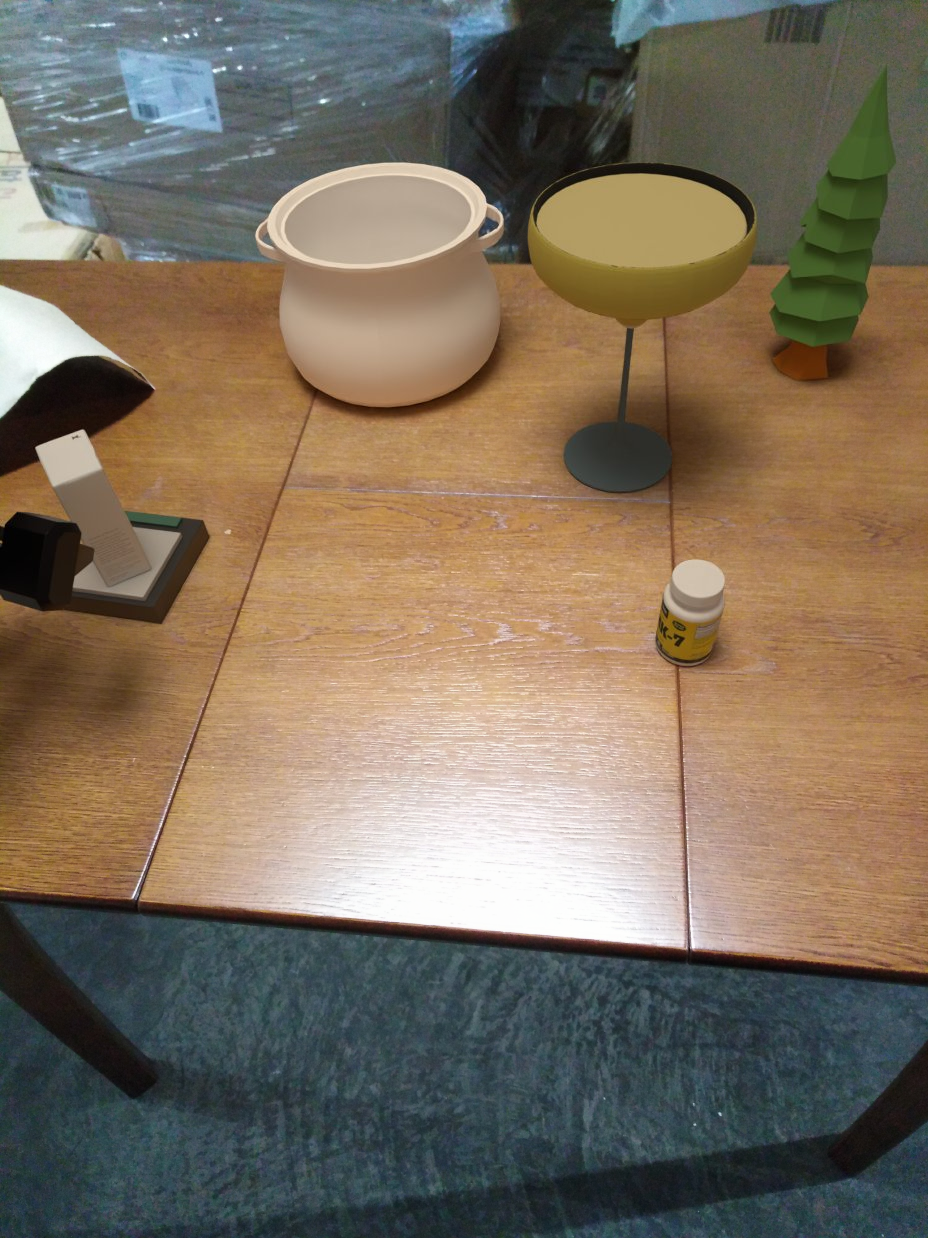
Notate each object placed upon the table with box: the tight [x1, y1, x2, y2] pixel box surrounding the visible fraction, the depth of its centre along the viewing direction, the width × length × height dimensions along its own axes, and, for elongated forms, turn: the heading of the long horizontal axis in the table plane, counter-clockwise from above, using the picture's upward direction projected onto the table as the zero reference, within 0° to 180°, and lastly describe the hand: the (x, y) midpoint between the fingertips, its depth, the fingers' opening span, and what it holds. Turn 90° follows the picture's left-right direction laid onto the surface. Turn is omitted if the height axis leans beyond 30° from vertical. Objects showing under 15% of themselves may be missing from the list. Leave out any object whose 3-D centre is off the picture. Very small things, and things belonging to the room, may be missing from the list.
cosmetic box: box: [35, 429, 151, 587], centre depth 76 cm, size 6×4×12 cm
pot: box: [254, 162, 505, 408], centre depth 97 cm, size 26×24×17 cm
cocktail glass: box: [527, 161, 758, 493], centre depth 80 cm, size 18×18×25 cm
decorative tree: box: [769, 64, 897, 381], centre depth 87 cm, size 10×9×30 cm
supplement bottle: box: [654, 558, 726, 667], centre depth 71 cm, size 5×5×8 cm
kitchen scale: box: [64, 510, 210, 624], centre depth 82 cm, size 10×11×3 cm
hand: (44, 541), depth 71 cm, fingers open, 9 cm apart
